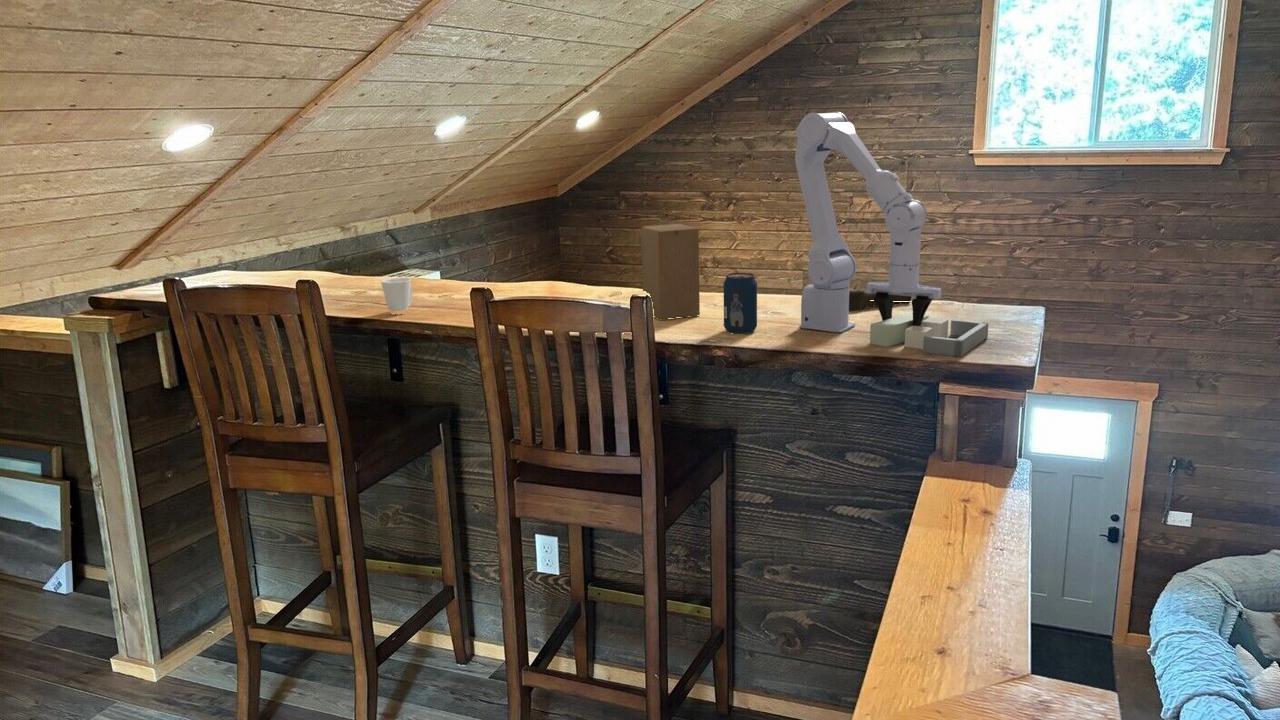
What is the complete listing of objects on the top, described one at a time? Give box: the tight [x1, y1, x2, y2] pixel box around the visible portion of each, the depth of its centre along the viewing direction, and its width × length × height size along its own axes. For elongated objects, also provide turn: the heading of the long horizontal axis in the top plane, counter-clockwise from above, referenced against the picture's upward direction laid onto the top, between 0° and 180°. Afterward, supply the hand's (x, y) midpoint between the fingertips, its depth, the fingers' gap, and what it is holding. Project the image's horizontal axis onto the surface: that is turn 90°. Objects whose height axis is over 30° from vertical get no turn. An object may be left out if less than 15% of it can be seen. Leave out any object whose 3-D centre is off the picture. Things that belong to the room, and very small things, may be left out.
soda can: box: [723, 272, 758, 335], centre depth 200 cm, size 7×7×12 cm
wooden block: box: [640, 223, 701, 320], centre depth 216 cm, size 10×10×20 cm
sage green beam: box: [869, 312, 930, 348], centre depth 191 cm, size 4×14×4 cm, turn 131°
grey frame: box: [922, 318, 989, 358], centre depth 185 cm, size 7×17×3 cm, turn 145°
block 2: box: [921, 317, 949, 338], centre depth 191 cm, size 4×4×4 cm
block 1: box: [904, 326, 933, 350], centre depth 185 cm, size 4×4×4 cm
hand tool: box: [849, 290, 912, 312], centre depth 221 cm, size 19×4×5 cm, turn 112°
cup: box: [380, 277, 413, 312], centre depth 229 cm, size 7×10×8 cm
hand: (901, 331), depth 191 cm, fingers open, 5 cm apart
